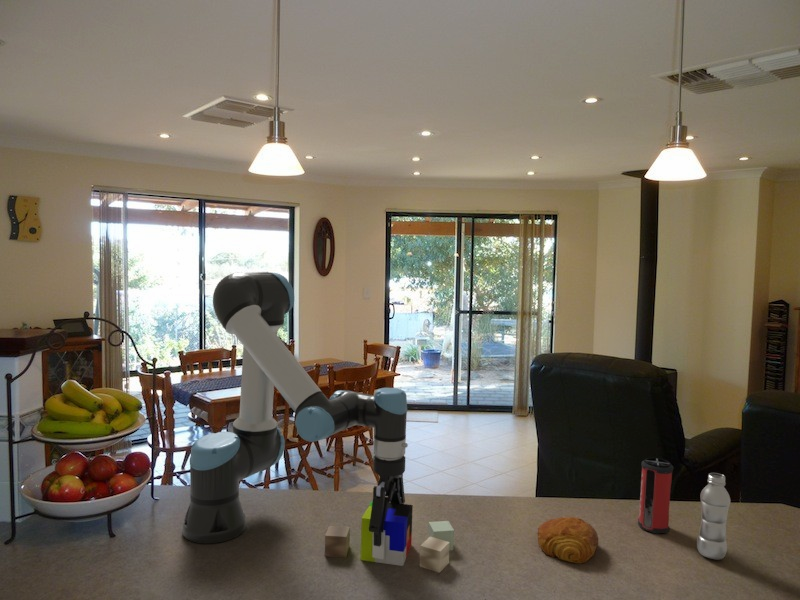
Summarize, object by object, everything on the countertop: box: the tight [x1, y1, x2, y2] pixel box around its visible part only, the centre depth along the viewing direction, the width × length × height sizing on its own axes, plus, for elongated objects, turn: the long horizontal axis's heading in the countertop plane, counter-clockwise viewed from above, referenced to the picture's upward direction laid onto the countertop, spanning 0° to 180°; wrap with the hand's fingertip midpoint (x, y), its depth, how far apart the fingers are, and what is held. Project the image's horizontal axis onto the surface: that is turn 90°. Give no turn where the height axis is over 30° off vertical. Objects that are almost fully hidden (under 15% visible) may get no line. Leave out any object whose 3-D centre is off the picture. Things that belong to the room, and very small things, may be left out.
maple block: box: [419, 537, 450, 574], centre depth 133 cm, size 5×5×5 cm
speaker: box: [637, 457, 675, 534], centre depth 154 cm, size 8×8×18 cm
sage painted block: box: [427, 520, 455, 551], centre depth 142 cm, size 5×5×5 cm
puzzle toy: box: [360, 500, 414, 567], centre depth 138 cm, size 10×10×10 cm
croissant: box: [536, 516, 599, 564], centre depth 143 cm, size 14×16×8 cm
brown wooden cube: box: [324, 525, 351, 558], centre depth 138 cm, size 5×5×5 cm
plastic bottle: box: [696, 472, 732, 561], centre depth 140 cm, size 6×7×20 cm
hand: (387, 546), depth 138 cm, fingers closed on puzzle toy, 10 cm apart
